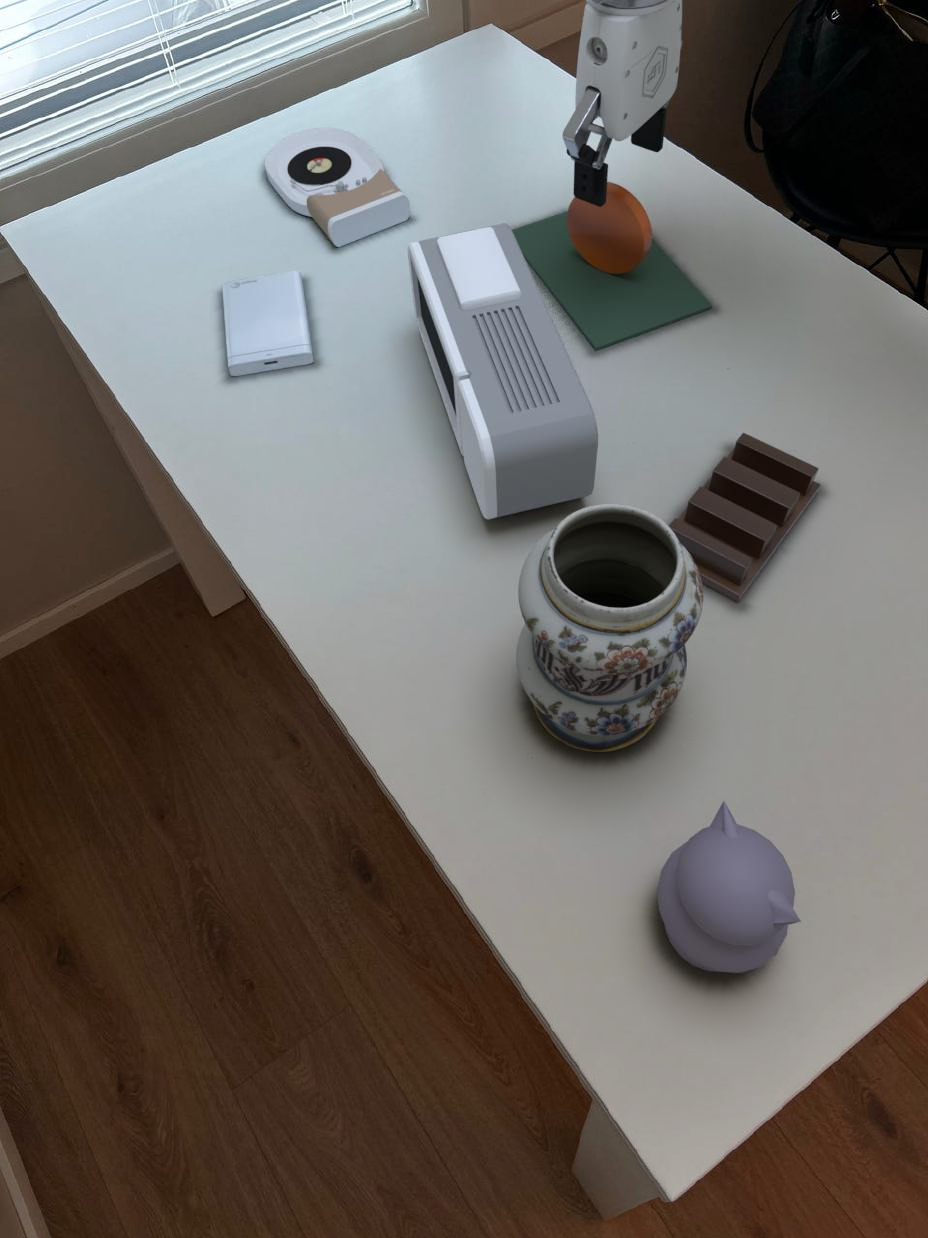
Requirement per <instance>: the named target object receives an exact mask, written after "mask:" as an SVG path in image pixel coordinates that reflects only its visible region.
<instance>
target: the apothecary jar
mask: <svg viewBox="0 0 928 1238" xmlns="http://www.w3.org/2000/svg"><path fill="white" fill-rule="evenodd" d="M517 590H518V591H517V595H518V596H517V597H518V605H519V609H520V612H521V617H522V618H523V621H524V624H523V627H522V629H521V631H520V634H519V637H518V640H517V643H516V644H517V645H516V652H515V653H516V655H515V656H516V657H515V659H516V669H517V674H518V678H519V681H520V682H521V684H522V687H523V690H524V691H525V693H526V695H527V697H528V699H529V700H530V701H531V702H532V704H533V708H534V711H535V714H536V716H537V718H538V720H539V722H540V723H541V725H542V726H543V728H545V730H546V731H547V732H548V733H549V734H550V735H551V736H553V737H554V738H555V739H557V740H558V741H560V742H562V743H563V744H565V745H567V746H568V747H571V748H573V749H577V750H581V751H586V752H592V753H593V752H595V753H606V752H613V751H617V750H621V749H624V748H626V747H629V746H631V745H633V744H635V743H637V742H638V741H639V740H641V739H642V738H643V737H644V736H646V734H647V733H649V732H650V730H651V729H652V728H654V725H655V724H656V723H657V721H658V719H659V718H660V717H661V716H662V715H663V714H664V713H666V711H668V709H669V708H670V707H671V706H672V705H673V704H674V702H675V701H676V699H677V698H678V696H679V694H680V692H681V690H682V687H683V685H684V682H685V678H686V674H687V664H688V659H687V657H688V656H687V655H688V654H687V649H686V643H687V642H688V641H689V639H690V638H691V636H693V634H694V632H695V630H696V629H697V627H698V624H699V621H700V618H701V616H702V612H703V605H704V587H703V583H702V581H701V577H700V574H699V571H698V568H697V566H696V564H695V562H694V560H693V558H692V557H691V555H690V554H689V552H688V551H687V550H686V548H685V547H684V546H683V545H682V544H681V543H680V542H679V540H678V539H677V537H676V535H675V534H674V532H673V531H672V530H671V528H670V527H669V525H668V523H666V522H665V521H663V520H662V519H661V518H660V517H659V516H657V515H655V514H653V513H651V512H649V511H647V510H644V509H642V508H639V507H636V506H633V505H627V504H619V503H603V504H595V505H589V506H586V507H583V508H580V509H578V510H576V511H573V512H571V513H570V514H569V515H567V516H565V518H563V519H562V520H561V521H560V522H559V523H558V524H557V526H555V527H554V528H552V529H550V531H548V532H547V533H546V534H544V535H543V536H542V537H541V538H540V539H539V540H538V541H537V542H536V543H535V545H533V547H532V548H531V550H530V551H529V553H528V555H527V556H526V558H525V559H524V563H523V565H522V568H521V570H520V575H519V578H518V589H517Z"/></svg>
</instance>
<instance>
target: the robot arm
mask: <svg viewBox="0 0 928 1238" xmlns="http://www.w3.org/2000/svg"><path fill="white" fill-rule="evenodd" d="M585 1H586V3H585V5H584V11H583V17H582V23H581V29H580V30H581V31H580V38H579V46H578V54H577V55H578V56H577V64H576V65H577V66H576V78H575V98H574V99H575V100H574V101H575V102H574V105H575V109H574V111H573V114H572V115H571V117H570V119H569V121H568V122H567V123H566V125H565V127H564V129H563V130H562V140H563V142H564V145H565V148H566V154H567V155H568V156H569V157H570V160H571V161H573V196H574V197H576V198H578V199H580V200H583V201H585V202H588V203H591V204H593V205H596V206H598V207H602V206H603V205H604V204H605V203H606V194H607V182H608V178H609V177H608V174H609V163H606V162H605V160H606V157H607V155H608V152H609V150H610V147H611V144H612V142H613V140H614V141H615V142H622V141H624V140H626V139H628V138H629V137H630V143H631V144H632V145H634V146H636V147H640V148H643V149H645V150H648V151H651V152H654V153H659V152H660V151H661V150H662V149H663V148H664V147H663V146H664V139H665V130H666V122H667V121H666V120H667V112H668V111H667V109H666V108H667V107H668V106H669V104H670V102H671V99H672V97H673V95H674V94H675V92H676V90H677V87H678V80H679V72H680V60H681V50H682V47H683V40H682V26H683V0H585ZM598 118H599V119H601V122H602V125H603V126H602V125H599V124H596V123H594V122H595V120H597V119H598ZM591 134H595V135H598V136H601V137H600V138H599V142H598V143H597V147H596V149H594V148H592V147H591V146H590V145H588V142H589V139H590V136H591Z"/></svg>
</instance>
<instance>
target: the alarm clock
mask: <svg viewBox="0 0 928 1238" xmlns="http://www.w3.org/2000/svg"><path fill="white" fill-rule="evenodd" d="M512 230H513V229H512V228H511V226H510V224H508V223H507V222H506V223H505V222H503V223H499V224H495V225H490V226H484V227H480V228H476V229H470V230H465V231H461V232H460V231H459V232H456V233H451V234H450V233H449V234H446V235H442V236H436V237H433V238H427V239H422V240H417V241H412V242H409V243H408V244H407V260H408V268H409V276H410V286H411V294H412V302H413V309H414V314H415V319H416V323H417V328H418V331H419V334H420V337H421V340H422V342H423V346H424V349H425V351H426V355H427V358H428V360H429V363H430V367H431V369H432V372H433V375H434V378H435V381H436V384H437V387H438V390H439V393H440V396H441V398H442V401H443V404H444V408H445V411H446V413H447V415H448V416H447V417H448V419H449V422H450V425H451V428H452V431H453V434H454V436H455V439H456V443H457V446H458V449H459V451H460V455H461V456H463V464H464V466H465V469H466V472H467V475H468V477H469V480H470V485H471V487H472V489H473V493H474V495H475V499H476V501H477V504H478V507H479V510H480V512H481V515H482V517H483V518H484V519H486V520H491V519H495V518H496V519H497V518H500V517H503V516H505V517H506V516H509V515H513V514H518V513H522V512H526V511H529V510H534V509H539V508H543V507H547V506H551V505H555V504H559V503H564V502H569V501H572V500H577V499H581V498H585V497H588V496H591V495H592V493H593V491H594V489H595V480H596V471H597V470H596V469H597V461H598V460H597V459H598V449H599V431H598V424H597V420H596V415H595V411H594V408H593V406H592V403H591V401H590V399H589V397H588V395H587V393H586V391H585V389H584V386H583V384H582V382H581V379H580V376H579V375H578V373H577V370H576V369H575V366H574V365H573V361H572V360H571V357H570V354H569V353H568V350H567V349H566V346H565V344H564V342H563V340H562V337H561V336H560V333H559V331H558V329H557V326H556V324H555V322H554V320H553V318H552V316H551V313H550V311H549V309H548V307H547V305H546V302H545V300H544V298H543V296H542V293H541V291H540V289H539V287H538V285H537V282H536V280H535V278H534V276H533V274H532V272H531V271H532V270H531V269H530V267H529V264H528V262H527V260H526V259H525V258H524V256H523V254H522V252H521V249H520V247H519V245H518V243H517V241H516V238H515V236H514V234H513V232H512Z"/></svg>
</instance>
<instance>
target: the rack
mask: <svg viewBox="0 0 928 1238" xmlns="http://www.w3.org/2000/svg"><path fill="white" fill-rule="evenodd" d="M818 471H819V467H817V466H815V465H813V464H811V463H810V462H809V463H808V462H807V461H805V460H802V459H800V458H798V457H796V456H794V455H792V454H789V453H788V452H785V451H783V450H781V449H779V448H777V447H775V446H773V445H771V444H769V443H766V442H765V441H763V440H760V439H759V438H756V437H753V436H751V435H749V434H747V433H745V432H742V433H741V435H740V436H739V437H738V438H737V440H736V441H735V445H734V448H733V449H731V451H730V452H729V454H728V455H727V456H723V457H722V459H720V461H719V462H718V463H717V464H716V466H715V467H714V468H713V470H712V473H711V476H710V477H709V479H708V480H707V481H706V483H705V484H704V485H703V486H699V487H698V488H697V490H696V491H695V492H694V494H693V495H691V497H690V499H689V500H688V501H687V505H686V507H685V509H684V510H683V512H682V513H681V514H680V515H679V516H678V517H675V518H674V519H673V520H672V521H671V522H670V524H669V525H668V526H669V527H670V528H671V530H672V531H673V532H674V534H675V535H676V537H677V539H678V540H679V542H680V543H681V544H682V545H683V546H684V547H685V548H686V550H687V551H688V552H689V554H690V555H691V557H692V558H693V560H694V562H695V564H696V566H697V568H698V571H699V574H700V577H701V581H702V585H704V586H706V587H709V588H711V590H714V591H716V592H717V593H719V594H721V595H723V596H725V597H727V598H729V599H731V600H732V601H734V602H737V603H739V602H740V600H741V599H742V598H743V596H744V595H745V594H746V592H747V591H748V589H749V588H750V587H751V585H752V583H754V581H755V579H756V578H757V577H758V575H759V574H760V572H761V571H762V570H763V568H764V567H765V566H766V564H767V563H768V562H769V560H770V559H771V557H773V554H774V553H775V552H776V551H777V549H778V548H779V546H780V545H781V544H782V542H783V541H784V540H785V538H786V536H788V534H789V532H790V531H791V530H792V528H793V527H794V526H795V524H796V523H797V521H798V520H799V519H800V517H801V516H802V515H803V513H804V512H805V510H806V509H807V508H808V507H809V505H810V503H811V502H812V500H813V499H814V498H815V496H816V495H817V494H818V492H819V490H820V488H821V483H818V482H817V481H815V479H816V477H817V474H818Z"/></svg>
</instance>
